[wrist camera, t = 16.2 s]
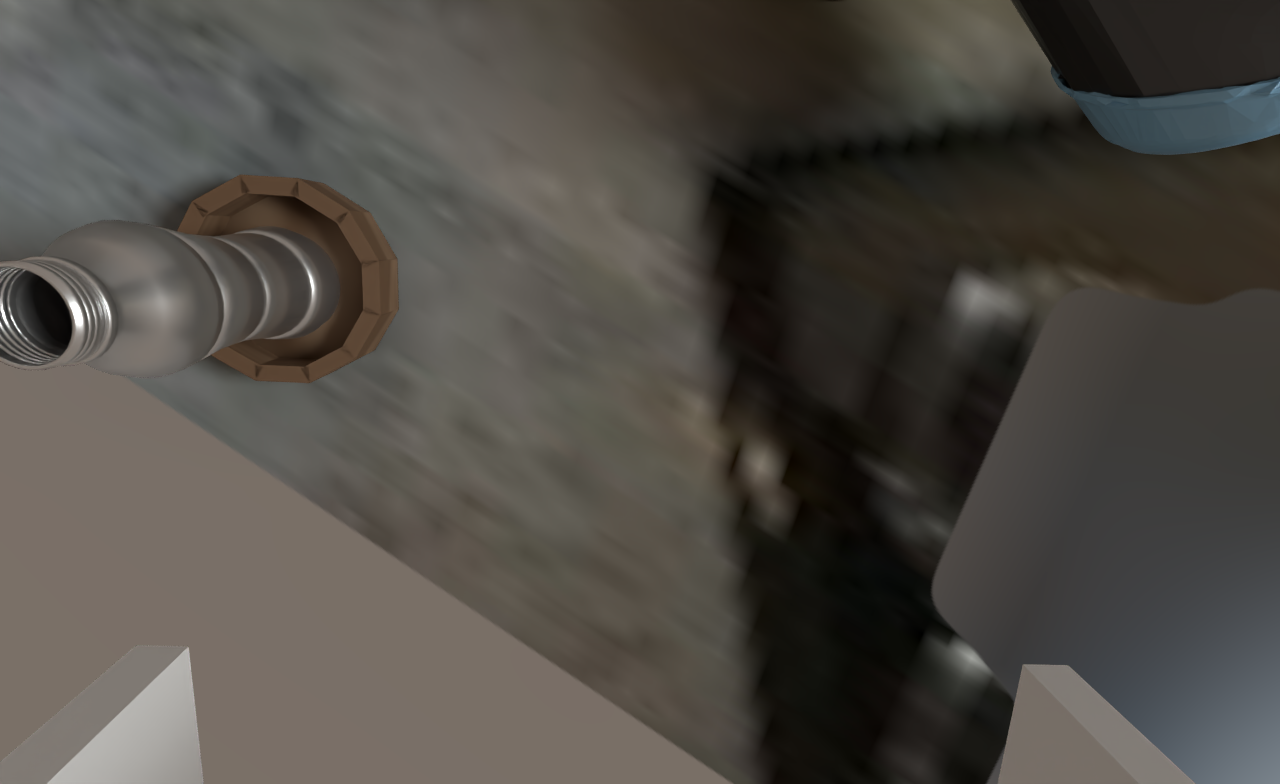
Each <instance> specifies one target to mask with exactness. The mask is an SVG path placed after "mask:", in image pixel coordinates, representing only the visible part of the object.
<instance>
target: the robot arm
mask: <svg viewBox="0 0 1280 784" xmlns="http://www.w3.org/2000/svg"><path fill="white" fill-rule="evenodd" d="M1011 1H1012V3H1013V5H1014V6H1015V8H1016V9H1017V11H1018V12H1019V14H1020V16H1021V17H1022V19H1023V20H1024V22H1025V24H1026V25H1027V27H1028V28H1029V30H1030V31H1031V33H1032V35H1033V36H1034V38H1035V39H1036V41H1037V42H1038V44H1039V46H1040V47H1041V49H1042V50H1043V52H1044V54H1045V55H1046V57H1047V58H1048V60H1049V61H1050V63H1051V65H1052V68H1051V74H1052V77H1053V79H1054V80H1055V82H1056V84H1057V85H1058V87H1059V88H1060V89H1061V90H1063V91H1064V92H1066V93H1067V94H1068V95H1070V96H1071V97H1073V98H1074V99H1075V101H1076V102H1077V104H1078V105H1079V106H1080V108H1081V109H1082V111H1083V112H1084V113H1085V115H1086V116H1087V118H1088V119H1089V120H1090V122H1091V123H1092V125H1093V126H1094V127H1095V129H1096V130H1097V131H1098V132H1099V134H1100V135H1101V136H1102V137H1104V138H1105V139H1106V140H1108V141H1109V142H1111V143H1114V144H1118V145H1120V146H1122V147H1123V148H1126V149H1130V150H1131V151H1134V152H1138V153H1146V154H1162V155H1169V154H1186V153H1195V152H1202V151H1208V150H1214V149H1219V148H1224V147H1229V146H1233V145H1238V144H1242V143H1246V142H1250V141H1255V140H1258V139H1262V138H1265V137H1269V136H1272V135H1275V134H1279V133H1280V0H1011ZM0 784H204V783H203V773H202V765H201V755H200V746H199V737H198V729H197V719H196V710H195V701H194V692H193V683H192V674H191V665H190V656H189V648H188V647H184V646H182V647H181V646H137V645H136V646H135V647H134V648H132V649H131V650H130V651H129V652H128V653H127V654H125V655H124V656H123V657H122V658H121V659H120V660H119V661H117V662H116V663H115V664H114V665H113V666H111V667H110V668H109V669H108V670H107V671H106V672H104V673H103V674H102V675H101V676H100V677H98V678H97V679H96V680H95V681H94V682H93V683H92V684H90V685H89V686H88V687H87V688H86V689H84V691H82V692H81V693H80V694H79V695H77V696H76V697H75V698H74V699H73V700H72V701H71V702H69V703H68V704H67V705H66V706H65V707H63V708H62V709H61V710H60V711H59V712H58V713H56V714H55V715H54V716H53V717H52V718H51V719H50V720H48V721H47V722H46V723H45V724H44V725H43V726H41V727H40V728H39V729H38V730H37V731H36V732H34V734H32V735H31V736H30V737H28V738H27V739H26V740H25V741H24V742H23V743H22V744H20V745H19V746H18V747H17V748H16V749H15V750H13V751H12V752H11V753H10V754H9V755H8V756H6V757H5V758H4V759H3V760H2V761H1V762H0ZM998 784H1195V783H1194V782H1193V781H1192V780H1191V779H1190V778H1189V777H1188V776H1187V775H1185V774H1184V773H1183V772H1182V771H1181V770H1180V769H1179V768H1178V767H1177V766H1176V765H1175V764H1174V763H1173V762H1172V761H1171V760H1169V759H1168V758H1167V757H1166V756H1165V755H1164V754H1163V753H1162V752H1161V751H1159V749H1158V748H1157V747H1155V746H1154V745H1153V744H1152V743H1151V742H1150V741H1149V740H1148V739H1147V738H1146V737H1145V736H1143V735H1142V734H1141V733H1140V732H1139V731H1138V730H1137V729H1136V728H1135V727H1134V726H1133V725H1132V724H1131V723H1130V722H1128V721H1127V720H1126V719H1125V718H1124V717H1123V716H1122V715H1121V714H1120V713H1119V712H1118V711H1116V709H1114V708H1113V707H1112V706H1111V705H1110V704H1109V703H1108V702H1107V701H1106V700H1105V699H1104V698H1103V697H1102V696H1100V695H1099V694H1098V693H1097V692H1096V691H1095V690H1094V689H1093V688H1092V687H1091V686H1090V685H1089V684H1088V683H1086V682H1085V681H1084V680H1083V679H1082V678H1081V677H1080V676H1079V675H1078V674H1077V673H1076V672H1075V671H1074V670H1072V669H1071V668H1070V667H1069V666H1068V665H1023V667H1022V672H1021V676H1020V681H1019V685H1018V690H1017V695H1016V700H1015V704H1014V709H1013V714H1012V718H1011V723H1010V728H1009V733H1008V737H1007V742H1006V747H1005V752H1004V756H1003V761H1002V766H1001V770H1000V775H999V780H998Z"/></svg>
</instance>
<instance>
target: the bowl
mask: <svg viewBox="0 0 1280 784" xmlns="http://www.w3.org/2000/svg"><path fill="white" fill-rule="evenodd" d="M261 226H274V227H280V228H285V229H288V230H290V231H293V232H296V233H298V234H301V235H303V236H305V237H307V238H309V239H311V240H312V241H314V242H315V243H316V244H318V245H319V246H320V247H321V248H322V249H323V250H324V251H325V252H326V253H327V255H328V256H329V257H330V259H331V260H332V262H333V264H334V265H335V268H336V270H337V273H338V276H339V282H340V298H339V302H338V305H337V307H336V310H335V312H334V313H333V315H332V316H331V317H330V318H329V320H328V321H326V322H325V323H324V324H323V325H321V326H320V327H319V328H318V329H316V330H315V331H314V332H312V333H310V334H308V335H306V336H303V337H299V338H295V339H264V338H262V339H253V340H245V341H242V342H239V343H236V344H234V345H231V346H228V347H225V348H222V349H220V350H218V351H217V352H215V353H213V354H211V356H213V357H215V358H217V359H219V360H220V361H222V362H224V363H226V364H227V365H229V366H231V367H233V368H234V369H236V370H238V371H240V372H241V373H243V374H245V375H247V376H249V377H250V378H252V379H254V380H256V381H276V382H299V383H311V382H313V381H315V380H317V379H319V378H321V377H323V376H325V375H328V374H330V373H332V372H334V371H336V370H338V369H339V368H341V367H343V366H345V365H347V364H349V363H351V362H353V361H355V360H357V359H359V358H361V357H362V356H364V355H366V354H368V353H370V352H372V351H374V350H375V349H376V347H377V346H378V344H379V342H380V341H381V339H382V337H383V335H384V334H385V332H386V330H387V328H388V327H389V325H390V323H391V322H392V320H393V318H394V316H395V315H396V313H397V311H398V309H399V302H398V264H397V257H396V256H395V254H394V252H393V251H392V249H391V247H390V246H389V244H388V242H387V240H386V239H385V237H384V235H383V234H382V232H381V230H380V228H379V227H378V225H377V223H376V222H375V220H374V218H373V216H372V215H371V213H370V212H368V211H367V210H365V209H364V208H362V207H360V206H359V205H357V204H356V203H354V202H353V201H351V200H349V199H348V198H346V197H345V196H343V195H341V194H340V193H338V192H337V191H335V190H333V189H332V188H330V187H329V186H327V185H326V184H324V183H319V182H314V181H309V180H304V179H299V178H285V177H268V176H252V175H239V176H237V177H235V178H233V179H231V180H229V181H228V182H226V183H224V184H222V185H220V186H219V187H217V188H215V189H213V190H211V191H209V192H208V193H206V194H204V195H202V196H200V197H199V198H197V199H195V200H193V201H192V202H191V204H190V206H189V208H188V210H187V212H186V214H185V216H184V218H183V220H182V222H181V224H180V226H179V228H178V230H177V232H181V233H185V234H194V235H202V236H213V237H214V236H222V235H230V234H234V233H236V232H239V231H243V230H247V229H251V228H256V227H261Z"/></svg>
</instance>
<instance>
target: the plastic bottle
mask: <svg viewBox="0 0 1280 784" xmlns="http://www.w3.org/2000/svg"><path fill="white" fill-rule="evenodd" d="M339 298H340V282H339V276H338V273H337V270H336V268H335V265H334V264H333V262H332V260H331V259H330V257H329V256H328V255H327V253H326V252H325V251H324V250H323V249H322V248H321V247H320V246H319V245H318V244H316V243H315V242H314V241H312V240H311V239H309V238H307V237H305V236H303V235H301V234H298V233H296V232H293V231H290V230H288V229H285V228H280V227H274V226H261V227H256V228H251V229H247V230H243V231H239V232H236V233H234V234H230V235H222V236H214V237H213V236H202V235H194V234H185V233H181V232H177V231H173V230H169V229H165V228H161V227H157V226H152V225H149V224H143V223H137V222H129V221H122V220H102V221H98V222H94V223H90V224H86V225H84V226H81V227H79V228H76V229H74V230H71V231H69V232H67V233H65V234H63V235H61V236H60V237H58V238H57V239H56V240H55V241H54V242H53V243H51V244H50V245H49V247H48V248H47V249H46V251H45V252H44V254H43V255H42V256H41V257H29V258H25V259H21V260H19V261H2V262H0V362H2V363H4V364H6V365H9V366H12V367H15V368H18V369H24V370H46V369H50V368H54V367H58V366H74V365H78V364H81V363H85V364H86V365H88V366H90V367H92V368H94V369H96V370H99V371H102V372H106V373H109V374H113V375H120V376H127V377H137V378H156V377H162V376H166V375H170V374H173V373H175V372H178V371H180V370H183V369H185V368H187V367H189V366H191V365H193V364H195V363H197V362H199V361H201V360H202V359H204V358H206V357H208V356H210V355H211V354H213V353H215V352H217V351H218V350H220V349H222V348H225V347H228V346H231V345H234V344H236V343H239V342H242V341H245V340H253V339H262V338H264V339H295V338H299V337H303V336H306V335H308V334H310V333H312V332H314V331H315V330H316V329H318V328H319V327H320V326H321V325H323V324H324V323H325V322H326V321H328V320H329V318H330V317H331V316H332V315H333V313H334V312H335V310H336V307H337V305H338V302H339Z"/></svg>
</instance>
